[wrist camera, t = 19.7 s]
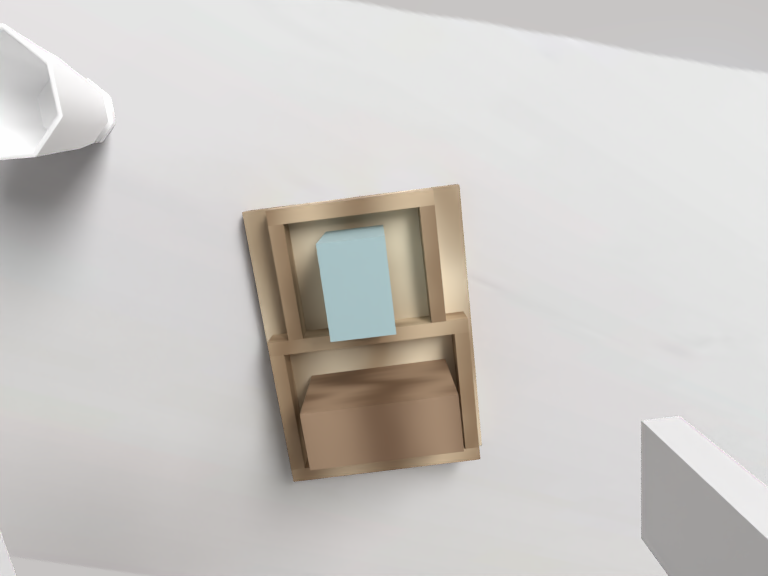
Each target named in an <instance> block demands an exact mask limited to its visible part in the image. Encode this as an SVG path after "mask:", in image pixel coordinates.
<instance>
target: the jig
mask: <svg viewBox="0 0 768 576" xmlns="http://www.w3.org/2000/svg"><path fill="white" fill-rule="evenodd" d="M242 214H243V219H244V225H245V230H246V235H247V240H248V246H249V251H250V256H251V261H252V267H253V272H254V277H255V282H256V287H257V293H258V298H259V303H260V308H261V314H262V319H263V324H264V329H265V335H266V340H267V345H268V350H269V356H270V361H271V366H272V371H273V376H274V382H275V387H276V392H277V397H278V403H279V408H280V413H281V418H282V424H283V429H284V434H285V439H286V445H287V450H288V455H289V460H290V465H291V471H292V476H293V481H294V482H295V481H304V480H312V479H320V478H328V477H337V476H345V475H353V474H362V473H370V472H378V471H386V470H395V469H403V468H411V467H419V466H428V465H436V464H444V463H453V462H461V461H469V460H477V459H480V452H479V445H482V443H481V431H480V419H479V408H478V396H477V385H476V373H475V361H474V350H473V338H472V327H471V315H470V303H469V292H468V280H467V269H466V257H465V245H464V234H463V222H462V211H461V199H460V187H459V185H458V184H455V185H447V186H439V187H431V188H424V189H416V190H408V191H400V192H392V193H384V194H376V195H369V196H361V197H353V198H345V199H337V200H329V201H321V202H314V203H306V204H298V205H290V206H282V207H274V208H267V209H259V210H251V211H245V212H242ZM377 225H383V227H384V234H385V242H386V251H387V259H388V268H389V276H390V285H391V293H392V301H393V310H394V318H395V327H396V334H395V335H387V336H378V337H370V338H361V339H353V340H344V341H336V342H331V341H330V334H329V328H328V321H327V315H326V308H325V301H324V295H323V288H322V282H321V275H320V268H319V262H318V255H317V249H316V243H317V242H318V241H319V240H320V238H321V237H322V236H323V235H324V233H325V232H327V231H335V230H344V229H352V228H360V227H369V226H377ZM439 359H445V360H446V363H447V365H448V368H449V371H450V374H451V376H452V379H453V382H454V384H455V387H456V390H457V392H458V396H459V406H460V416H461V426H462V436H463V446H464V451H463V452H455V453H447V454H439V455H431V456H423V457H415V458H407V459H399V460H391V461H383V462H375V463H367V464H359V465H351V466H343V467H335V468H327V469H319V470H311V471H310V467H309V461H308V456H307V451H306V445H305V440H304V434H303V429H302V424H301V418H300V412H301V409H302V406H303V403H304V399H305V396H306V393H307V390H308V386H309V383H310V380H311V377H312V376H313V375H321V374H328V373H336V372H344V371H352V370H360V369H368V368H376V367H384V366H392V365H399V364H407V363H415V362H423V361H431V360H439Z"/></svg>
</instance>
